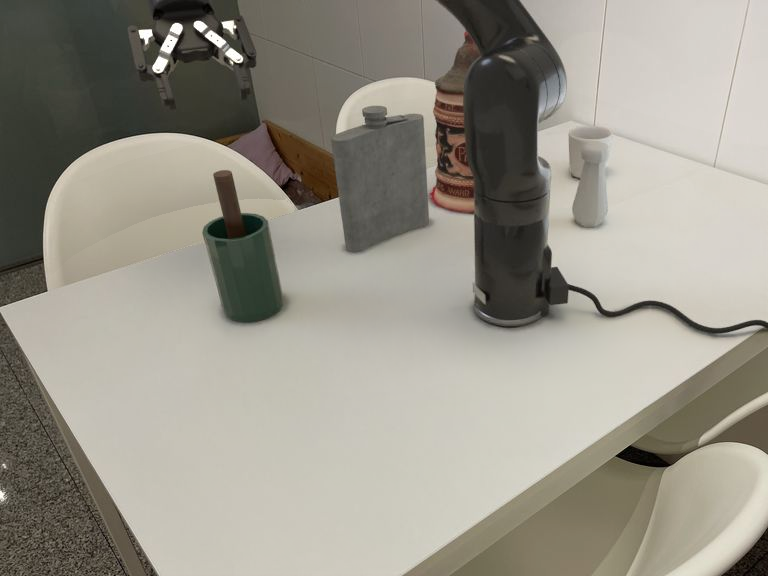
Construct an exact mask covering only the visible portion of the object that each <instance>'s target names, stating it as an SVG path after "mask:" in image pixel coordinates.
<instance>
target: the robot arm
mask: <svg viewBox="0 0 768 576" xmlns="http://www.w3.org/2000/svg"><path fill="white" fill-rule="evenodd" d="M145 1H146V4H147V8H148V11H149V15H150V17H151V21H152V27H151V29H139V28H138V26H136V25H134V24H133V25H129V26H128V27H127V34H128V38H129V44H130V49H131V52H132V58H133V61H134V67H135V70H136V72H137V77H138V79H139V81H141V82H148V81H151V82H154V83H155V85H156V86H157V90H158V94H159V96H160V100H161V103H162V105H163V107H169V110H170V111H174V110H177V106H176V105H177V104H176V101H175V97H174V95H173V90H172V86H171V84H170V81H169V76H170V75H171V73H172V72H174V70H175V69H176V67H177V65H178V63H179V61H180V62H183V64H189V63H192V62H195V61H199V62H206V61H210V59H211V58H212V59H214V60H215V61H216V62H218V63H219V64H220V65H221V66H226V67H227V68H228V69H230V70H231V71H232V72H233V77H234V78H233V79H234V81H235V84H236V88H237V91H238V94H239V97H240V100H241V101H245V100H246V101H247V100H248V95H250V94H251V82H250V79H249V77H248V72H247V70H248V69H249V68H251V69H254V68H256V67H257V50H256V48H255V44H254V43H253V40H252V37H251V34H250V32H249V29H248V28H247V24H246V21H245V19H244V17H243V16H242V14H241V15H240V14H235V15H234V16H233V19H232V20H225V21H221V20H220V19H219V18H218V16H217V15H216V12H215V8H214V6H213V2H212V0H145ZM434 1H435V2H436V3H438V4H439V5H440V6H442V8H444V9H445V10H446V11H447V12H449V13H450V15H452V16H453V17H454V18H455V19H456V20H457V22H458V23H459V24H460V25H461V26H462V27H463V29H464V30H466V31H467V33H468V34H469V36H470V37H471V39H472V40H473V42H474V44H475V45H476V47H477V49H478V50H479V52H480V54H481V56H480V57H478V58H477V59H476V60H475V61H474V62H473V63H472V65H471V66H470V68H469V70H468V72H467V75H466V78H465V83H464V90H463V114H464V129H465V144H466V156H467V162H468V165H469V168H470V170H471V172H472V175H473V179H474V213H473V223H474V224H473V225H474V227H473V230H474V233H473V234H474V240H473V241H474V282H472V289H471V290H472V293H473V294H474V312H475V313H476V315H477V316H478V317H479V318H480V319H481V320H483V321H484V322H487V323H489V324H491V325H496V326H501V327H519V326H525V325H529V324H531V323H534V322H535V321H537V320H538V319H540V318H541V317H547V316H549V311H550V306H557V305H565V304H568V303H569V292H570V291H571V292H574V293H577V294H581V295H583V296H585V297H587V298H588V299H590V301H592V303H593V304H594V306H595V308H596V310H597V311H598V313H600V314H601V315H602V316H606V317H608V318H616V317H620V316H623V315H626V314H628V313H632V312H633V311H635V310H637V309H640V308H643V307H657V308H661V309H665V310H666V311H668V312H670V313H672V314H673V315H675V316H676V317H677V318H679V319H680V320H681V321H682V322H683V323H685V324H686V325H688V326H690V327H691V328H693V329H695V330H698V331H700V332H704V333H708V334H713V335H714V334H717V335H719V334H720V335H722V334H729V333H733V332H736V331H739V330H743V329H746V328H749V327H755V326H756V327H757V326H759V327H763V328H765V329H767V330H768V321H765V320H762V319H751V320H746V321H743V322H740V323H738V324H733V325H730V326H726V327H724V326H723V327H709V326H707V325H702V324H700V323H698V322H697V321H696V322H695V321H693V320H692V318H689V317H688V316H686V314H684V313H683V312H681V310H679V309H677V308H676V307H674V306H672V305H670V304H668V303H665V302H662V301H658V300H650V299H649V300H642V301H639V302H636V303H633V304H631V305H629V306H628V307H626V308H623V309H621V310H617V311H616V310H615V311H610V310H607V309H605V308H603V306H602V304H601V302H600V300H599V299H598V297H597V296H596V295H595V294H594V293H592V292H591V291H589V290H587V289H586V288H584V287H583V288H582V287H580V286H577V285H573V284H569V283H568V282H567V281H566V279H565V277H564V275H563V274H562V272H561V270H560V269H559V266H552V264H553V263H552V261H553V251H552V249H551V247H550V245H549V244H548V240H549V224H550V223H549V222H550V204H551V203H550V202H551V201H550V200H551V187H552V185H551V184H552V169H551V165H550V163H549V162H548V161H547V160H546V159H545V158H544V157H542V156H539V124H541V123H543V122H544V121H546V120H548V119H549V118H551V117H552V116H553V115H555V114H556V113H557V112H558V111H559V110H560V108H561V107H562V106H563V104H564V103H565V99H566V97H567V92H568V78H567V72H566V69H565V65H564V63H563V61H562V58H561V56H560V55H559V53H558V51H557V50H556V48H555V47H554V46H553V44H552V42H551V41H550V40H549V38H548V36H546V34H545V33H544V31H543V30H542V29H541V27H540V26H539V24H538V23H537V22H536V20H535V19H534V17H533V16H532V15H531V14H530V12H529V11H528V10H527V8H526V7H525V6H524V4H523V3H522V1H521V0H434ZM466 31H465V32H466ZM224 34H228V35H229V36H230V38H231V39H233V40H234V41H237V43H238V45H239V48H240V50H241V54H240V53H239V52H237V51H236V50H235V49H234V48H232V47H231V46H230V44H229V43H228V41H226V40H225V39H224V38H223V37H224ZM152 42H154V43H155V44H156V45H157V46H159V47H160V49H159V52H158V56H157V58H156V60H155V62H154V64H153V65H152V64H147V61H146V56H145V55H146V54H145V52H146V51H148V49H149V48H150V43H152Z"/></svg>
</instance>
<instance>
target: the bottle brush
mask: <svg viewBox="0 0 768 576" xmlns="http://www.w3.org/2000/svg"><path fill="white" fill-rule="evenodd" d="M212 177H213V180H214V185H215V188H216V193H217V196H218V201H219V206H220V209H221V213H222V216H223V218H224V222H225V226H226V230H227V234H228V239H234V238H241V237H245V236H246V233H245V229H244V224H243V220H242V215H241V213H242V210H241V207H240V202H239V198H238V194H237V189H236V185H235V180H234V175H233V171H231V170H228V169H222V170H218V171H215V172H214V173H213V174H212Z"/></svg>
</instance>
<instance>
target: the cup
mask: <svg viewBox="0 0 768 576" xmlns="http://www.w3.org/2000/svg"><path fill="white" fill-rule="evenodd" d="M567 134H568V135H567V136H568V160H569V161H568V162H569V163H568V165H569V172H570V173H571V174H572V175H573V176H574V177H575V178H578V179H580V177H581V173H582V169H583V166H584V162H585V161H584V160H583V159H582V157H581V152H582V147H583V146H584V145H585V144H586V143H589V142H602V143H605V144H606V145H607V146H608V147H609V153H610V151H611V147H612V142H613V137H614V134H613V132H612V131H611V130H610V129H609V128H606V127H604V126H603V127H602V126H598V125H581V126H576V127H574V128H571V129H570V130H569V131H568V133H567ZM608 162H609V159H608V160H607V161H605V171H606V170H607V166H608Z"/></svg>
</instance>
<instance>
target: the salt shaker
mask: <svg viewBox="0 0 768 576" xmlns="http://www.w3.org/2000/svg"><path fill="white" fill-rule="evenodd" d="M581 157H582V159H583V160H584V161H585V162H584V166H583V169H582V173H581V177H580V178H579V180H578V185H577V189H576V192H575V196H574V199H573V202H572V206H571V211H572V215H573V217H574V220H575V223H576V224H578V225H580V226H582V227H585V228H586V227H587V228H596V227H598V226H600V225H602V224H603V222H604V220H605V219H606V216H607V214H608V211H609V205H608V193H607V190H608V189H607V177H606V170H605V161H607V160H608V161H609V158H610V152H609V147H608V146H607V145H606V144H605V143H602V142H589V143H586V144H585V145H584V146H583V147H582V152H581Z"/></svg>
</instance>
